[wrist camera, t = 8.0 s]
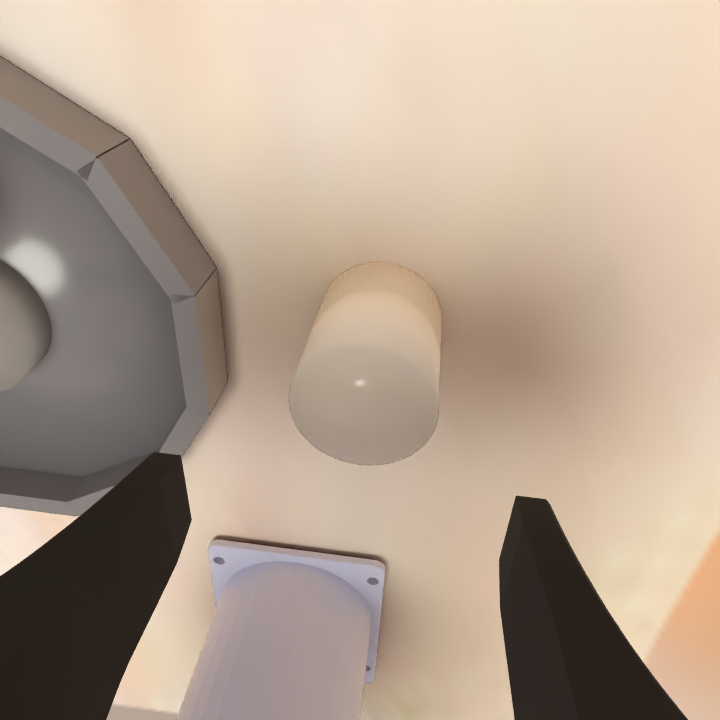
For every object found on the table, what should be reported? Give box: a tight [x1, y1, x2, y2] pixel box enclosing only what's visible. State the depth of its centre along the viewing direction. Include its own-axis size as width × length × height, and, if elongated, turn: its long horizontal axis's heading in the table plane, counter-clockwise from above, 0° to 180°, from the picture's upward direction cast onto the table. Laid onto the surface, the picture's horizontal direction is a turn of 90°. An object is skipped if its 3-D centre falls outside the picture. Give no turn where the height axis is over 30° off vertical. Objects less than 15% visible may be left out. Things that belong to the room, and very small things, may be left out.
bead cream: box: [289, 262, 441, 465], centre depth 18 cm, size 4×4×5 cm
